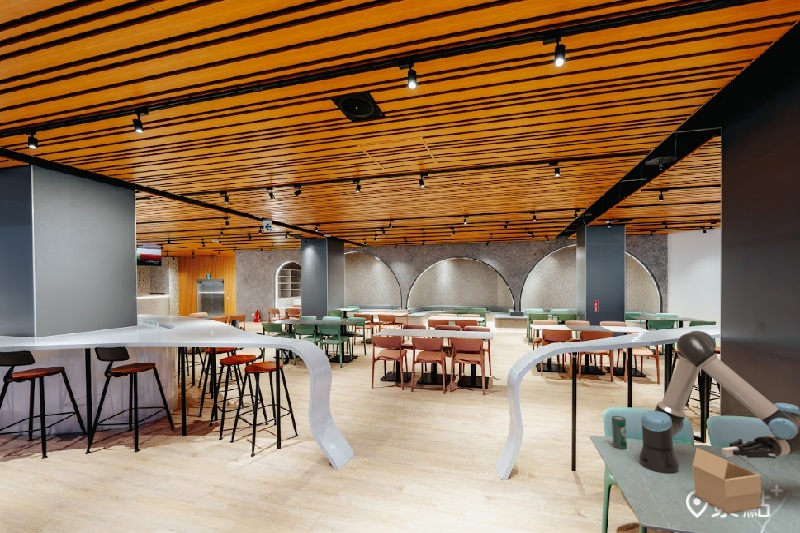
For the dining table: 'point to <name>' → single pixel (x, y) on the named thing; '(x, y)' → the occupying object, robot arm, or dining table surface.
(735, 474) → the carton
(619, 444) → the can
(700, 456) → the flap
